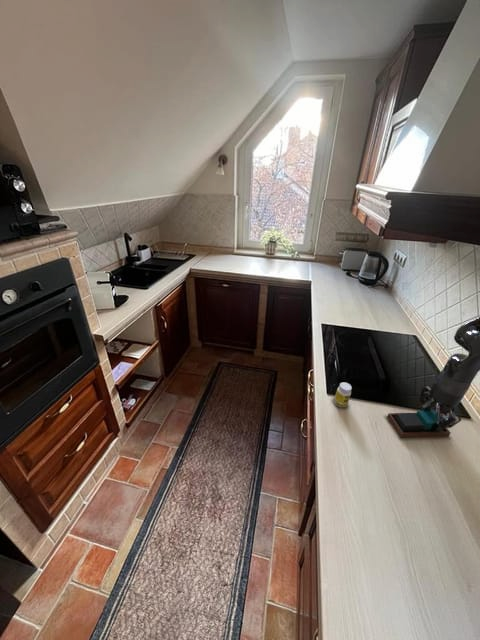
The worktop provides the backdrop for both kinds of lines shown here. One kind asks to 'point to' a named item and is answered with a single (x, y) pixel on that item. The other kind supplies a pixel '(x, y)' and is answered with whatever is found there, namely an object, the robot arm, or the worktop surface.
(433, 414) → the teal pad
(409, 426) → the black block
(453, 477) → the worktop surface
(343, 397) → the supplement bottle
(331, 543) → the worktop surface
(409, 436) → the pad frame
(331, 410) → the worktop surface
